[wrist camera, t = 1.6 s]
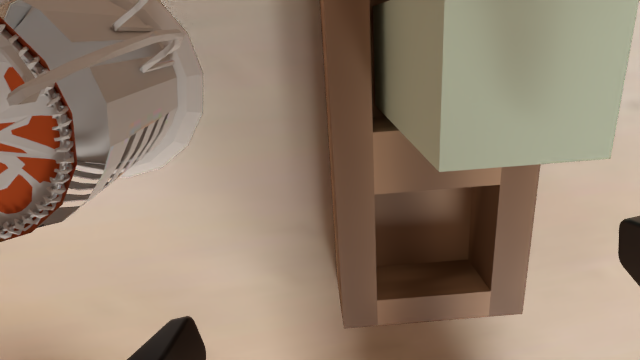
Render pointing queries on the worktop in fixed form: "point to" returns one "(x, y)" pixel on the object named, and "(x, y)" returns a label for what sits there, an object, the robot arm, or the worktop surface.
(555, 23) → the green block
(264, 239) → the worktop surface
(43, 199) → the french press
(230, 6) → the worktop surface
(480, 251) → the pocket holder
